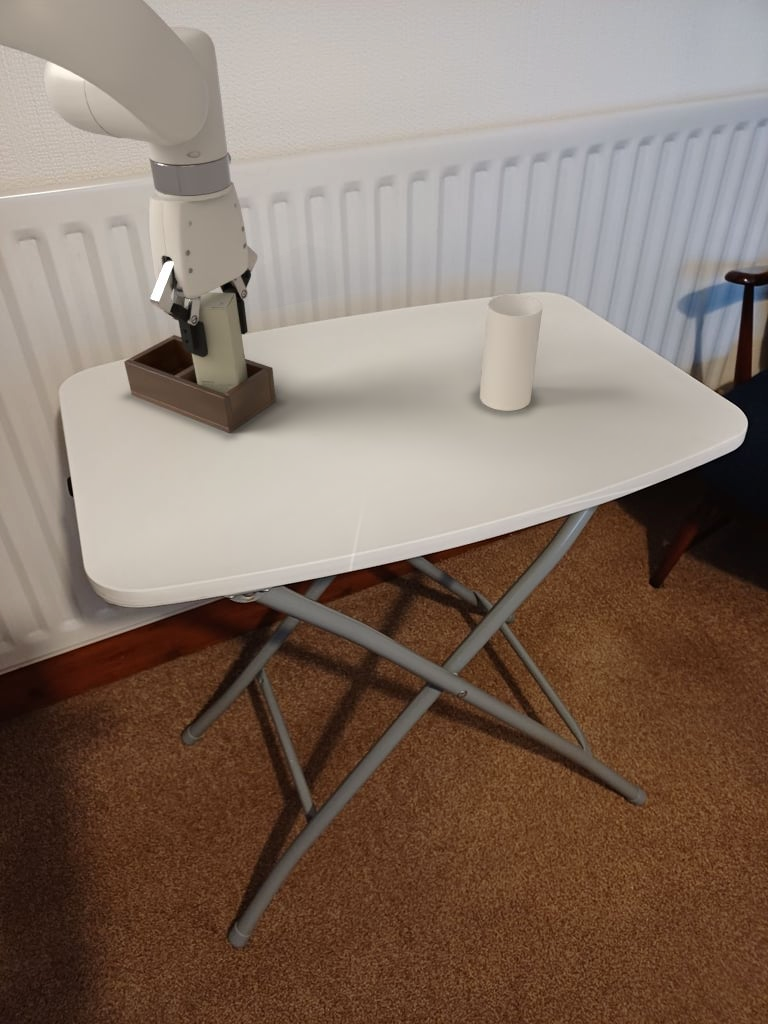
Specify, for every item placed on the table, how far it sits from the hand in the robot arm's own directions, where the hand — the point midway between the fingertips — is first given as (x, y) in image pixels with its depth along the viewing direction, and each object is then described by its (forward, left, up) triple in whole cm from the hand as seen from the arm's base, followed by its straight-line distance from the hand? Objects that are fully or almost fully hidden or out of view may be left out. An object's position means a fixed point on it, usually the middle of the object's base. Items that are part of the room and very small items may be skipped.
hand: (216, 340), depth 89 cm
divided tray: (0, +4, -9) cm, 10 cm away
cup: (+20, -27, -9) cm, 35 cm away
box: (0, 0, -8) cm, 8 cm away
